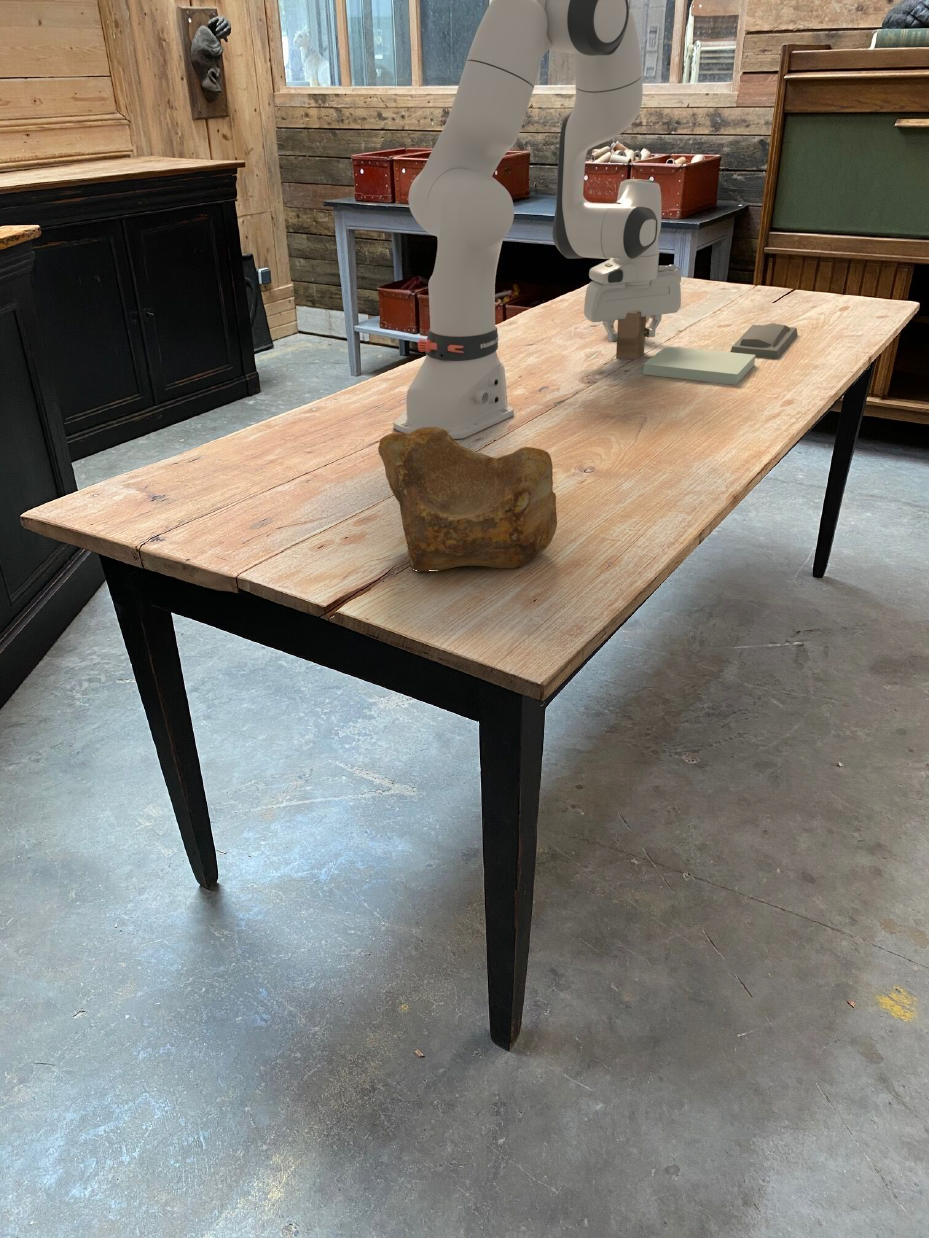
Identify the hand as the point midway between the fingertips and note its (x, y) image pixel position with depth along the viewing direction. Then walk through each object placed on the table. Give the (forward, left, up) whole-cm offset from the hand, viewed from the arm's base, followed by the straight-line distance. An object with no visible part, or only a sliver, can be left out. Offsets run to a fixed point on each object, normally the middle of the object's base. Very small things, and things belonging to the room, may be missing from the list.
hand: (631, 339), depth 192 cm
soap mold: (+18, -23, -4) cm, 30 cm away
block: (0, 0, -3) cm, 3 cm away
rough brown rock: (-95, -11, -4) cm, 96 cm away
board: (-5, -16, -3) cm, 17 cm away
